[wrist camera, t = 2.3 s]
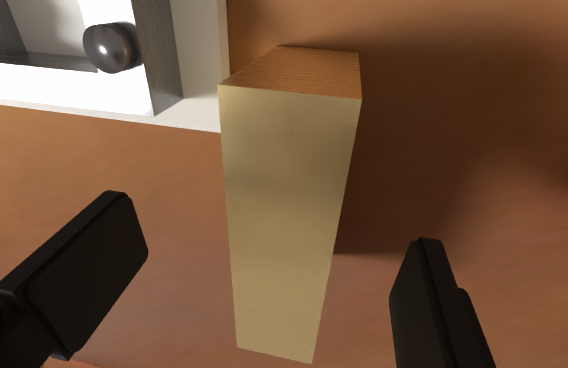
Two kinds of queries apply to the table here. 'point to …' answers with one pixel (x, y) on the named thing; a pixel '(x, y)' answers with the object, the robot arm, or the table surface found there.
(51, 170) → the table surface
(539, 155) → the table surface
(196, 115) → the board
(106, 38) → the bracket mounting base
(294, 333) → the tall tan wooden block
